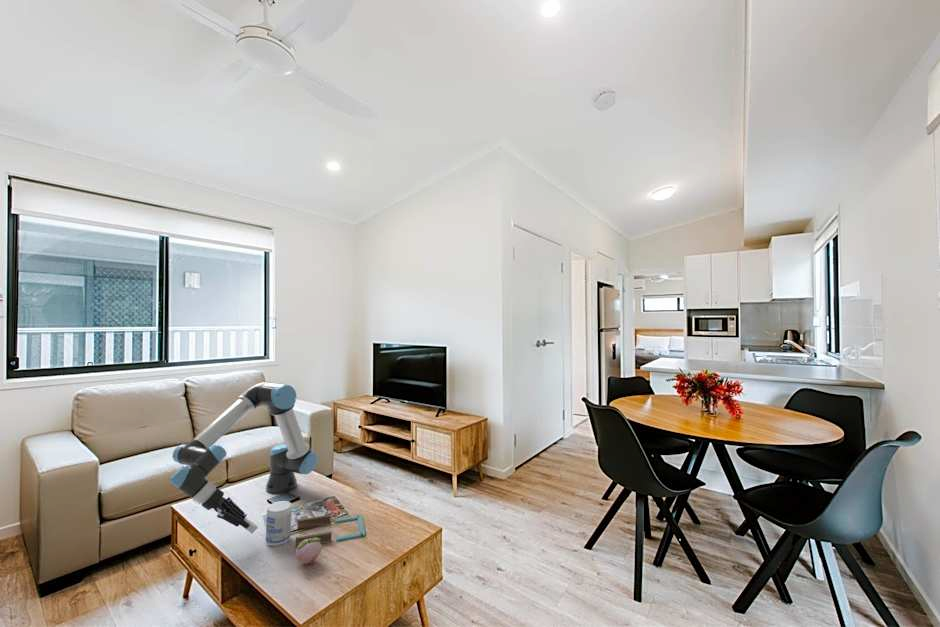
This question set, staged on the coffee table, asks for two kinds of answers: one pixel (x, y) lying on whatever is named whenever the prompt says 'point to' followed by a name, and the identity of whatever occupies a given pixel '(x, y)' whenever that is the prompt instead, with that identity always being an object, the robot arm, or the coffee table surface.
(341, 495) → the coffee table surface
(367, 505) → the coffee table surface
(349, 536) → the frame
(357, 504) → the coffee table surface
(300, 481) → the coffee table surface
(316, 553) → the decorative fruit
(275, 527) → the supplement tub
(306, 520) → the channel walls
